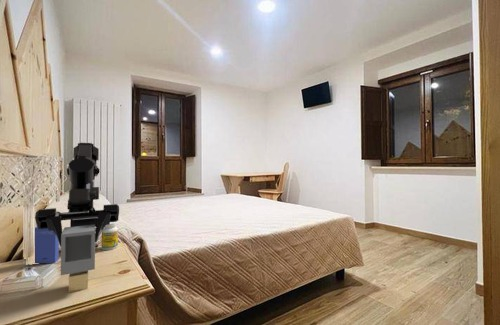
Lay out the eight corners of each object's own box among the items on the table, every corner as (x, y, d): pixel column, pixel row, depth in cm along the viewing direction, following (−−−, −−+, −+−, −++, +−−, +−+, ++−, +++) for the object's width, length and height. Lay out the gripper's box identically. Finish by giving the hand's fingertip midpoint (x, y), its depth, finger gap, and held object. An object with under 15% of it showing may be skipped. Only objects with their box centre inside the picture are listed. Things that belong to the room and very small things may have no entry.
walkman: (58, 259, 83) (59, 223, 82) (55, 262, 80) (55, 225, 80) (29, 262, 80) (29, 225, 80) (24, 265, 77) (25, 227, 77)
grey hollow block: (64, 264, 66) (64, 227, 66) (94, 259, 70) (95, 224, 70) (60, 275, 60) (61, 234, 60) (94, 269, 64) (95, 230, 64)
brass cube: (70, 285, 66) (70, 270, 66) (88, 282, 68) (88, 267, 68) (68, 292, 62) (68, 277, 62) (87, 288, 65) (87, 273, 65)
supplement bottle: (117, 244, 98) (117, 220, 98) (118, 248, 93) (118, 223, 93) (101, 247, 95) (101, 222, 95) (101, 251, 90) (102, 225, 90)
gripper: (36, 178, 63) (25, 232, 54) (119, 176, 73) (121, 222, 64) (42, 203, 70) (33, 255, 61) (117, 199, 80) (119, 243, 71)
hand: (79, 243), depth 64 cm, fingers closed on grey hollow block, 7 cm apart
